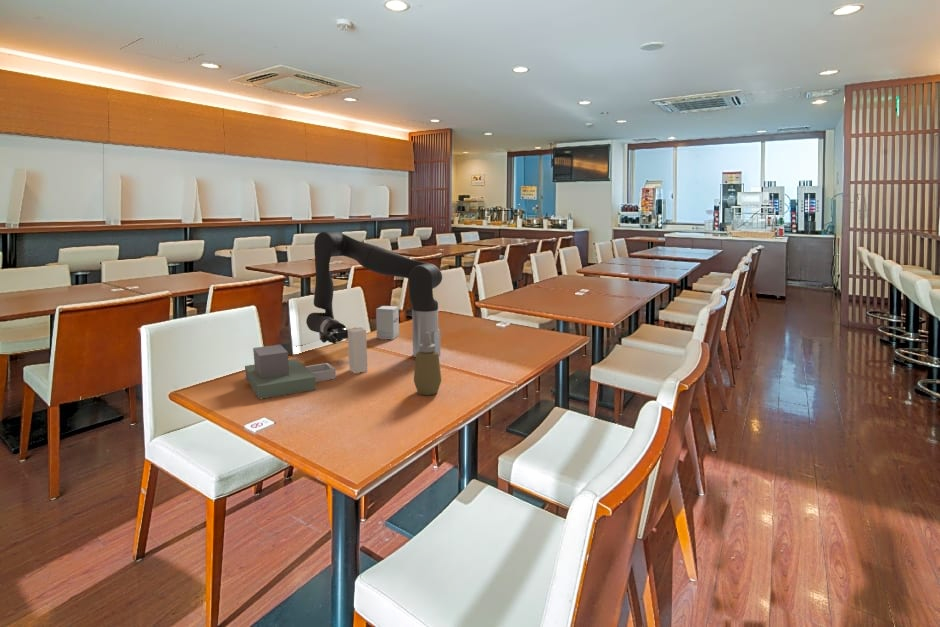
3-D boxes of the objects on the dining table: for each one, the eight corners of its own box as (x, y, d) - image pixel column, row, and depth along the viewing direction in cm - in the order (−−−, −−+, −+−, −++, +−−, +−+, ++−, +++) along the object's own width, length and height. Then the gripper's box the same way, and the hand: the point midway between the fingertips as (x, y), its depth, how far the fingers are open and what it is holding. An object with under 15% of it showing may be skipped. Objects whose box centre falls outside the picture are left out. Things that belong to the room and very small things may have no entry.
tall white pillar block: (362, 367, 178) (361, 327, 175) (367, 371, 174) (365, 330, 171) (349, 370, 175) (347, 329, 172) (354, 373, 172) (352, 331, 169)
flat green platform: (322, 366, 179) (320, 334, 177) (342, 384, 161) (341, 350, 159) (245, 378, 167) (242, 344, 165) (258, 399, 149) (255, 362, 146)
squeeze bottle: (414, 388, 158) (413, 329, 155) (441, 387, 159) (440, 329, 155) (413, 397, 151) (412, 336, 147) (442, 396, 151) (441, 336, 148)
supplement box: (393, 340, 214) (392, 309, 211) (376, 339, 215) (375, 308, 213) (399, 335, 221) (398, 306, 218) (382, 334, 222) (381, 305, 220)
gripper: (313, 322, 190) (326, 331, 177) (351, 317, 198) (366, 326, 184) (314, 342, 192) (327, 352, 178) (352, 337, 199) (367, 347, 186)
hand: (347, 339), depth 181 cm, fingers open, 8 cm apart
